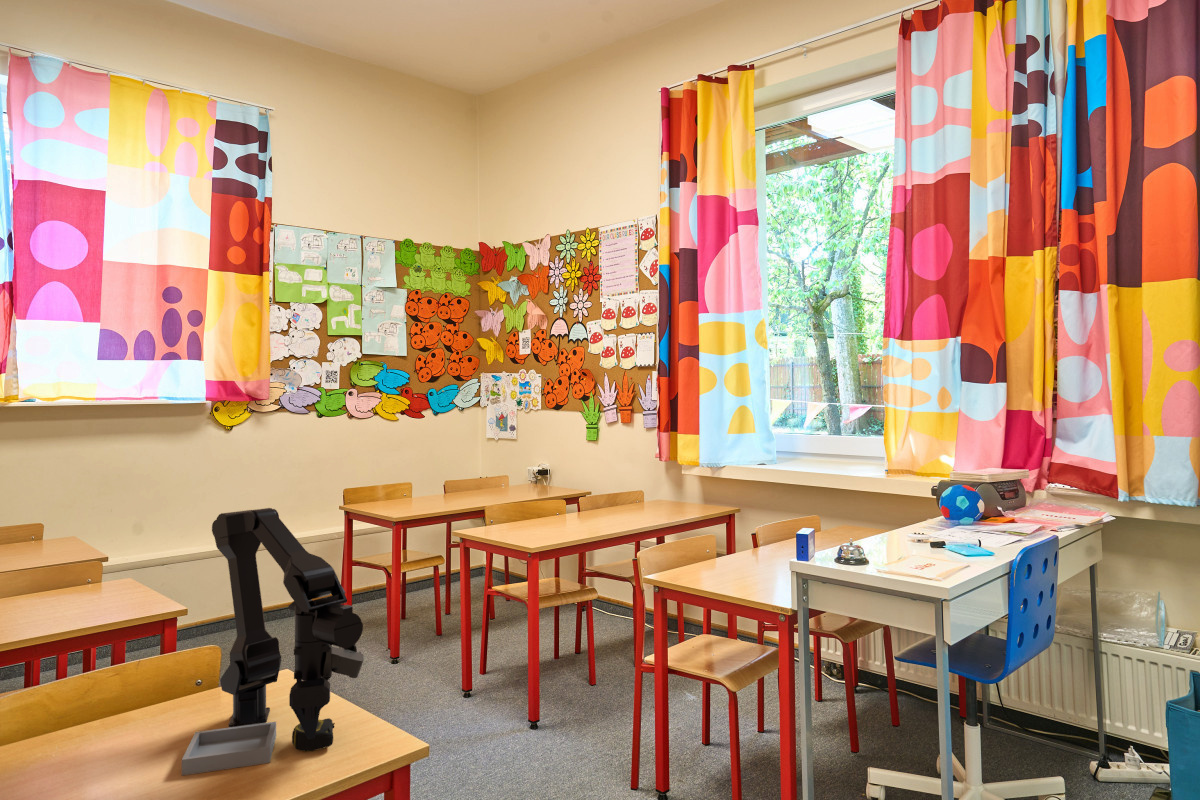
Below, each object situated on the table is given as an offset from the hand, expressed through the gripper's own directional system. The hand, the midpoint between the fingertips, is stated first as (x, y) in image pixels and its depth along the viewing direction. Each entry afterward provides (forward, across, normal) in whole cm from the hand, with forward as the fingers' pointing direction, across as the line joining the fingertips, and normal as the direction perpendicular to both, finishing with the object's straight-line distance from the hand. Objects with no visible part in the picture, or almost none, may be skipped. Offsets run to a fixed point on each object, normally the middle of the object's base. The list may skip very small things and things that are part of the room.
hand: (312, 727), depth 130 cm
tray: (+3, +1, +13) cm, 13 cm away
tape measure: (+4, 0, -1) cm, 4 cm away
